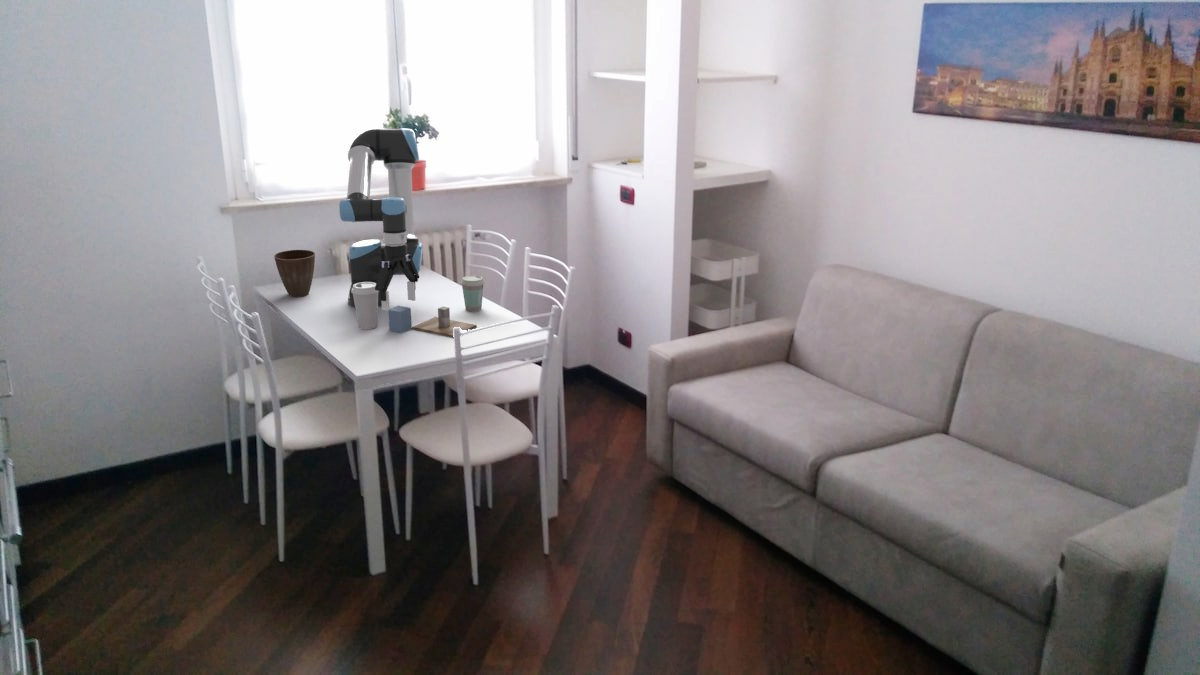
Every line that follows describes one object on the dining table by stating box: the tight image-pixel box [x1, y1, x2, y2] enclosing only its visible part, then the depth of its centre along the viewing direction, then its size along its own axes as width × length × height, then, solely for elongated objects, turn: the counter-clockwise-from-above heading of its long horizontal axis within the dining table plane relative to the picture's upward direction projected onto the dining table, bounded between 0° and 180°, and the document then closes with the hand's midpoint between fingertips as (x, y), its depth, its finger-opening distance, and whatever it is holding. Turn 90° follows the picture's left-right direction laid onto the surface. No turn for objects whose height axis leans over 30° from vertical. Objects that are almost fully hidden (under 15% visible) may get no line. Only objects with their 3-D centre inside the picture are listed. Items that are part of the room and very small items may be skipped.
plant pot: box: [273, 249, 316, 298], centre depth 352 cm, size 15×15×16 cm
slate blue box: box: [387, 305, 413, 334], centre depth 316 cm, size 5×5×8 cm
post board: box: [411, 306, 478, 338], centre depth 319 cm, size 18×13×7 cm
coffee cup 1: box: [351, 282, 379, 330], centre depth 318 cm, size 10×10×15 cm
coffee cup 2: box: [460, 275, 485, 312], centre depth 339 cm, size 8×9×12 cm
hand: (399, 304), depth 314 cm, fingers open, 13 cm apart
